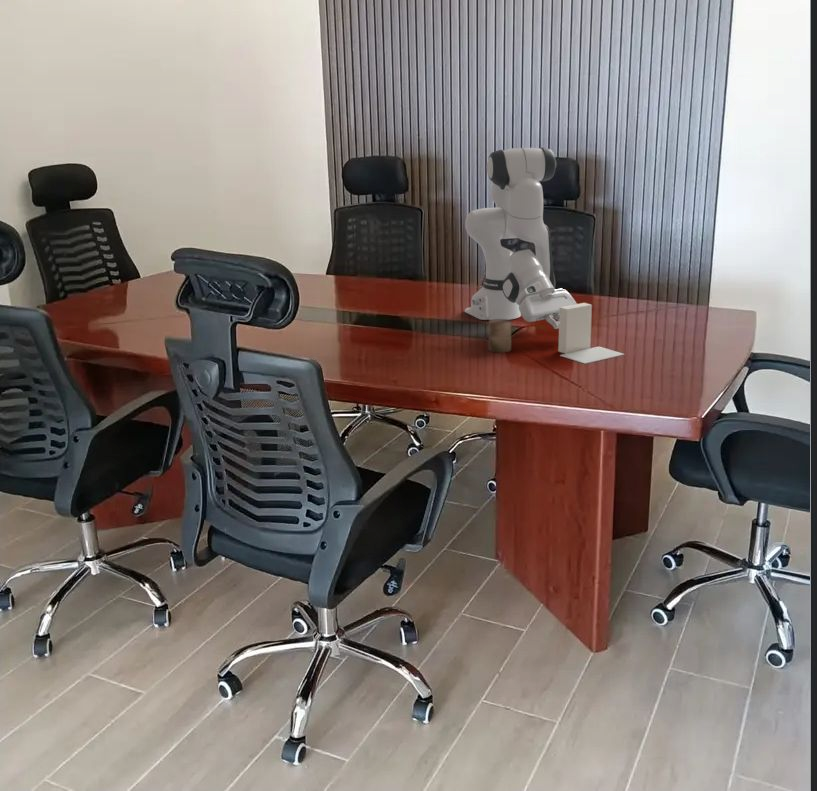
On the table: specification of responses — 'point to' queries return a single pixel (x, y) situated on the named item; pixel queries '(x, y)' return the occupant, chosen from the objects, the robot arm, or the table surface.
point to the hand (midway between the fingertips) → (559, 327)
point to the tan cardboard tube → (499, 335)
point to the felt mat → (592, 355)
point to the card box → (575, 327)
